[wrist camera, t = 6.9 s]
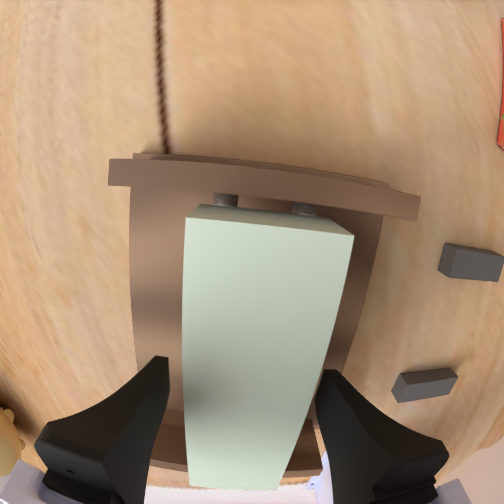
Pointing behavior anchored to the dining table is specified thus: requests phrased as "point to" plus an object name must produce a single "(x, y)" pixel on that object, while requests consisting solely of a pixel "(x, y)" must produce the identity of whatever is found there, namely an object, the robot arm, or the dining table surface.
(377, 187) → the walnut carcass
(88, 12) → the dining table surface
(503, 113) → the cracker box
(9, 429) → the yellow animal figurine
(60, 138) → the dining table surface
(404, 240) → the dining table surface
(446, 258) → the block
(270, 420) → the shelf plank
